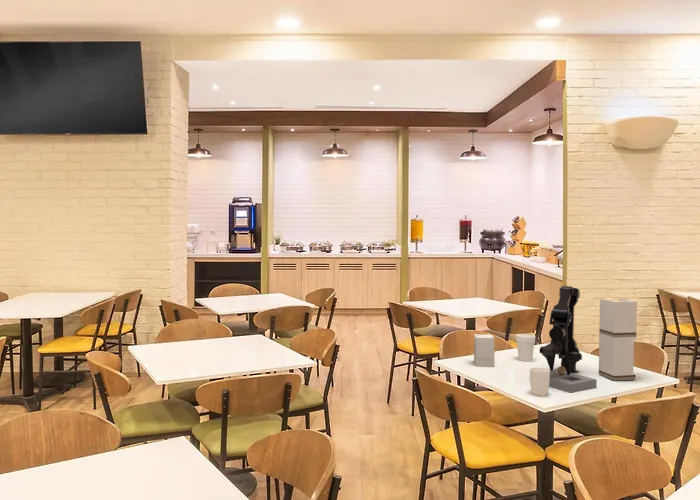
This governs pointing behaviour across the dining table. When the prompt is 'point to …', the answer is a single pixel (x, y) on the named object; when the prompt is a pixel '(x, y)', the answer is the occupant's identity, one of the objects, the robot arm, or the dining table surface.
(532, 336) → the foam cup
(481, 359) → the supplement box
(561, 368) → the ball
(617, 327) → the grey striped pillar
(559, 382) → the grey flat block
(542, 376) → the white cup
